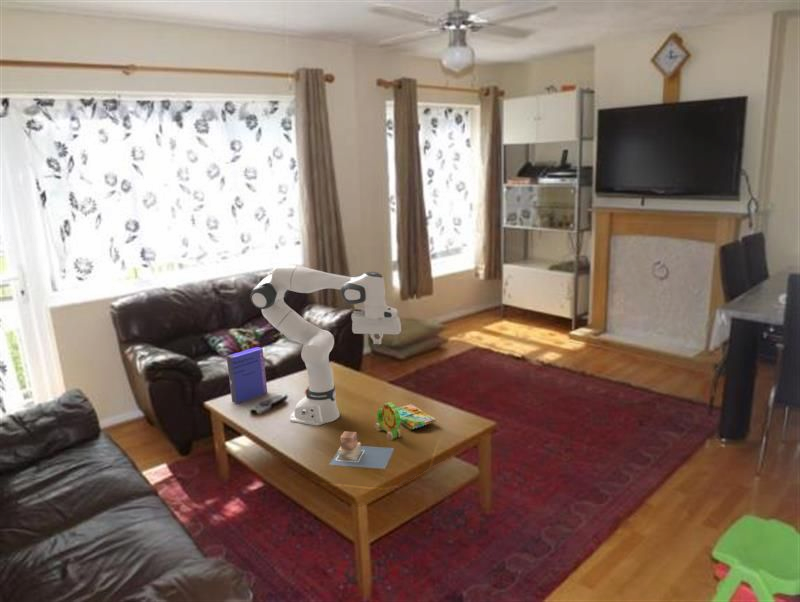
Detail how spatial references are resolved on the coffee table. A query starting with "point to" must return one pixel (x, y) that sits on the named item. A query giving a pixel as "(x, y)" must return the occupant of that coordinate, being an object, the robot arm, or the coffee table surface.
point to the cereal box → (247, 374)
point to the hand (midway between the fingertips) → (377, 343)
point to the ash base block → (350, 453)
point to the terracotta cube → (348, 440)
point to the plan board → (367, 458)
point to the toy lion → (388, 420)
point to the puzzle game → (414, 417)
